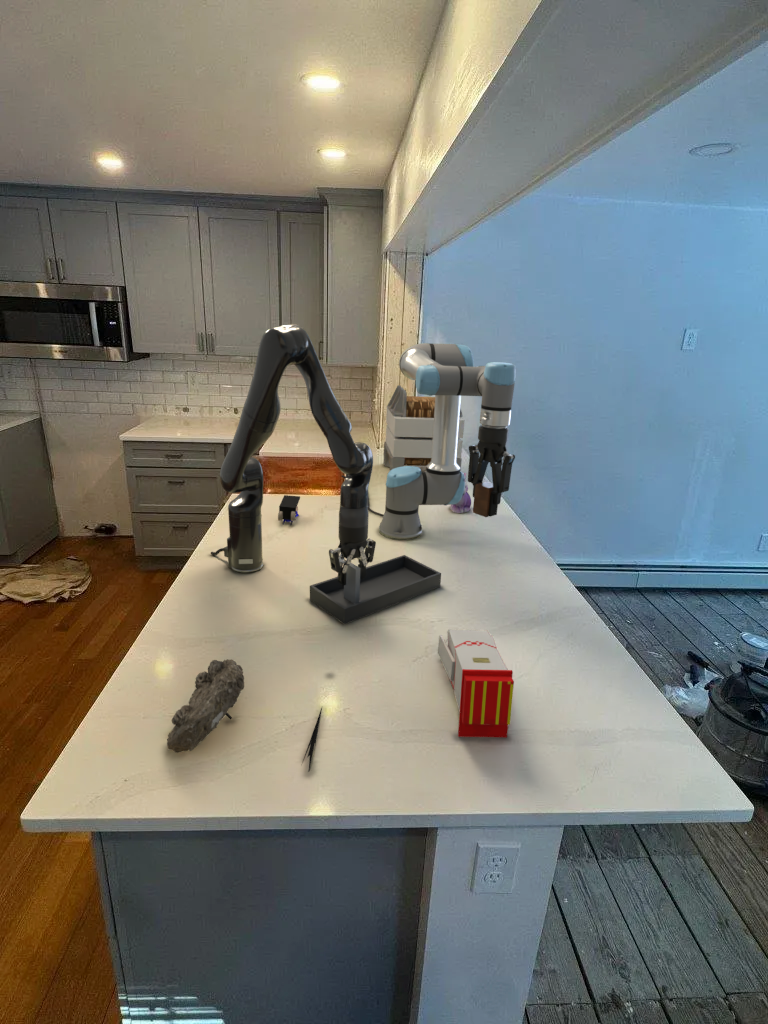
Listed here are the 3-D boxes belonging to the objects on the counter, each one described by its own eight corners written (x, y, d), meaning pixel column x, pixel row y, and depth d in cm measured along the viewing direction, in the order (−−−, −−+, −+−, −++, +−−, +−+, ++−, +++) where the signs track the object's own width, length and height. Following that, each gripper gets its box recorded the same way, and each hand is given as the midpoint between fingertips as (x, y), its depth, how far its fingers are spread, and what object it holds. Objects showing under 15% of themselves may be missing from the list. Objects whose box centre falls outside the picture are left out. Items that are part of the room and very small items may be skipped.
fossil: (192, 660, 117) (244, 628, 112) (224, 691, 120) (276, 661, 115) (142, 746, 98) (202, 712, 93) (182, 779, 101) (242, 748, 96)
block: (472, 512, 151) (475, 483, 149) (483, 509, 154) (486, 481, 152) (485, 517, 148) (488, 488, 146) (496, 514, 151) (499, 485, 148)
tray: (309, 599, 153) (309, 562, 149) (403, 567, 174) (405, 534, 170) (344, 624, 142) (345, 585, 138) (440, 586, 163) (443, 551, 159)
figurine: (457, 515, 220) (461, 478, 215) (443, 507, 229) (446, 471, 224) (477, 512, 224) (481, 475, 219) (462, 504, 233) (466, 469, 228)
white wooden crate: (382, 463, 289) (386, 382, 275) (445, 464, 293) (451, 384, 279) (390, 482, 257) (394, 392, 243) (460, 483, 261) (468, 394, 247)
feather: (331, 679, 122) (336, 673, 122) (307, 777, 96) (313, 769, 95) (324, 675, 122) (329, 669, 121) (298, 772, 95) (304, 764, 95)
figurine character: (296, 530, 202) (301, 512, 215) (295, 511, 198) (300, 494, 212) (277, 530, 201) (283, 511, 215) (276, 511, 198) (282, 493, 211)
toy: (488, 613, 130) (523, 677, 101) (484, 667, 133) (517, 744, 104) (435, 612, 130) (455, 676, 101) (432, 666, 133) (451, 743, 103)
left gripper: (339, 531, 137) (338, 594, 143) (384, 520, 146) (381, 579, 152) (321, 522, 142) (321, 583, 148) (366, 511, 151) (364, 569, 157)
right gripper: (458, 421, 147) (450, 505, 155) (513, 433, 135) (502, 525, 143) (477, 418, 152) (469, 501, 160) (531, 430, 139) (520, 519, 147)
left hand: (352, 580), depth 150 cm, fingers open, 5 cm apart
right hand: (484, 512), depth 151 cm, fingers closed on block, 4 cm apart
